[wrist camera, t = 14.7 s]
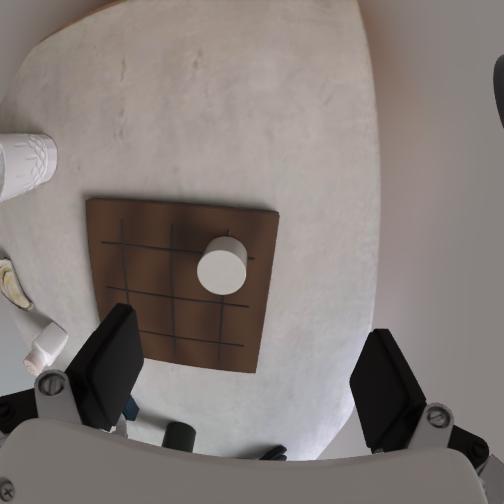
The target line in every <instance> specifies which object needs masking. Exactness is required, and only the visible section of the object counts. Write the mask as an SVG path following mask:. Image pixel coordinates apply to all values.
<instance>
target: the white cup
mask: <svg viewBox="0 0 504 504" xmlns="http://www.w3.org/2000/svg"><path fill="white" fill-rule="evenodd" d="M57 161H58V157H57V148H56V146H55V144H54V142H53V139H51V138H50V137H48V136H47V135H33V134H24V133H22V134H19V133H11V134H0V203H2V202H4V201H6V200H8V199H11V198H13V197H16V196H18V195H20V194H22V193H24V192H27V191H29V190H31V189H33V188H35V187H38V186H40V185H43V184H45V183H46V182H48V181H49V180H50V179H51V178H52V176H53V174H54V172H55V170H56V166H57Z"/></svg>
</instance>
